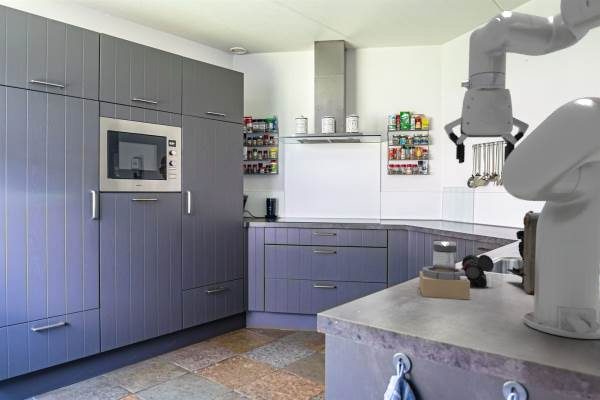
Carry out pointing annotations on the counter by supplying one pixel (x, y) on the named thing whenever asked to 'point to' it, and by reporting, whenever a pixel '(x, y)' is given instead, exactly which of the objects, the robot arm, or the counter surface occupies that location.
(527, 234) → the vintage camera
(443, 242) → the lens
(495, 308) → the counter surface
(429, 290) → the mount
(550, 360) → the counter surface
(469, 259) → the night vision scope
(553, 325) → the robot arm
